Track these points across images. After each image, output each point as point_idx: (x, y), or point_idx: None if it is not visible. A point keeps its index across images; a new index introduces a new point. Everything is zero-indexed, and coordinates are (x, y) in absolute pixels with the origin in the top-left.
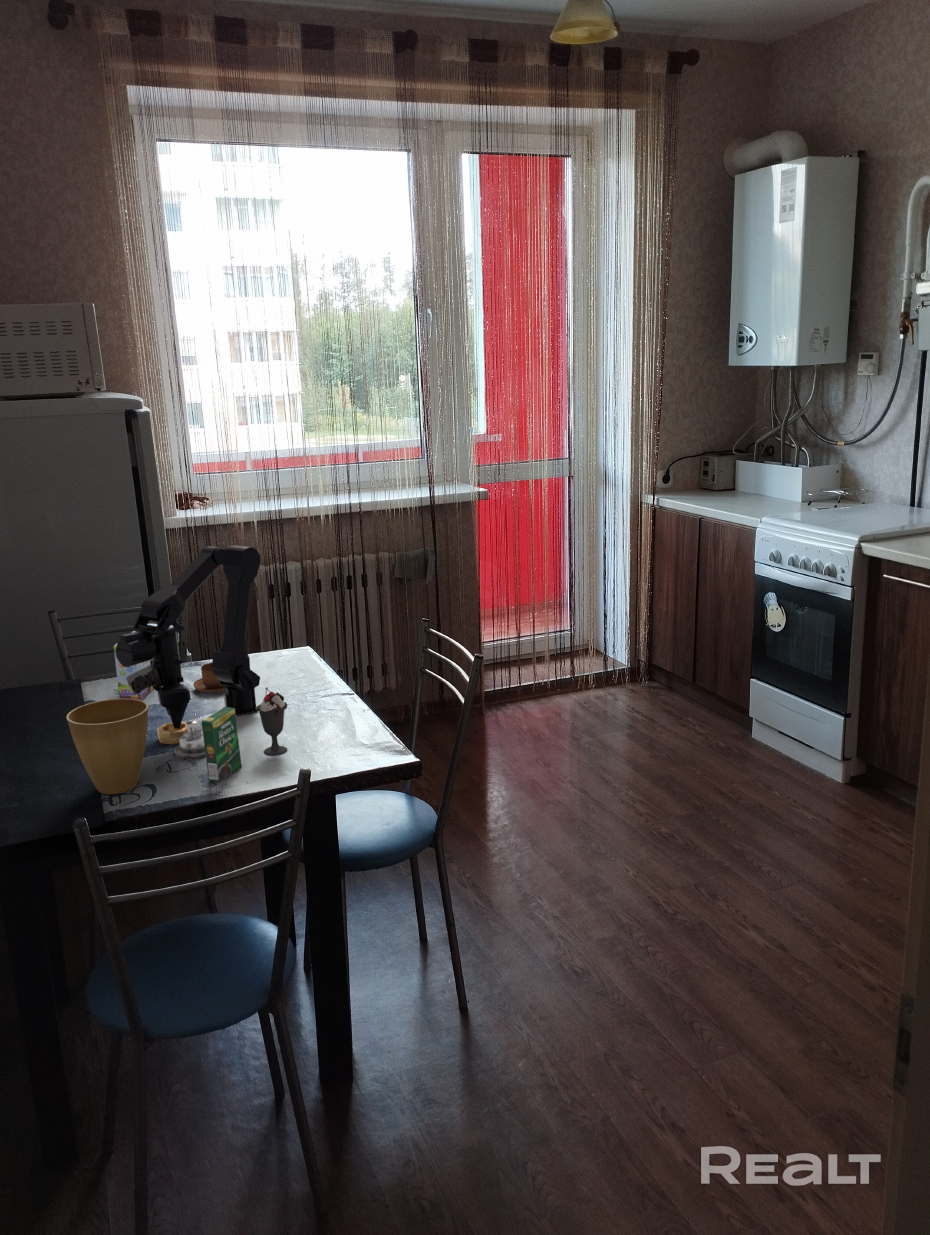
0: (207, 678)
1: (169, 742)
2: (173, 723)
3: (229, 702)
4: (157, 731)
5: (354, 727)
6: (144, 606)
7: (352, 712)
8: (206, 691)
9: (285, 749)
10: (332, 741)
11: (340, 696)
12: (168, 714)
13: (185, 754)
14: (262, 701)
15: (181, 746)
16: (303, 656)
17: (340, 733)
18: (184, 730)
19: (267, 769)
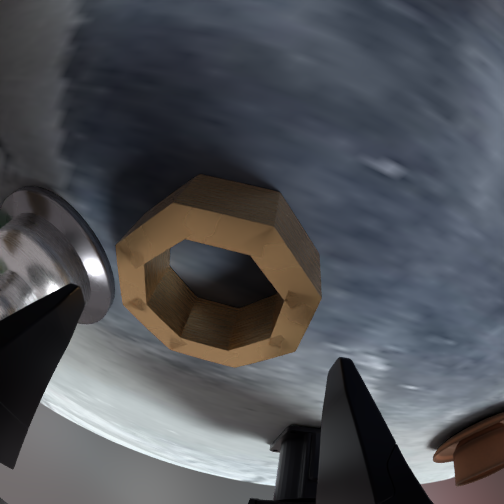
0: (489, 449)
1: (147, 212)
2: (39, 301)
3: (306, 460)
4: (268, 212)
5: (103, 431)
6: None
7: (163, 458)
8: (479, 425)
9: None
10: (59, 398)
11: (242, 479)
12: (340, 363)
13: (8, 214)
14: None
15: (7, 225)
16: (431, 480)
17: (86, 417)
18: (130, 311)
19: None
